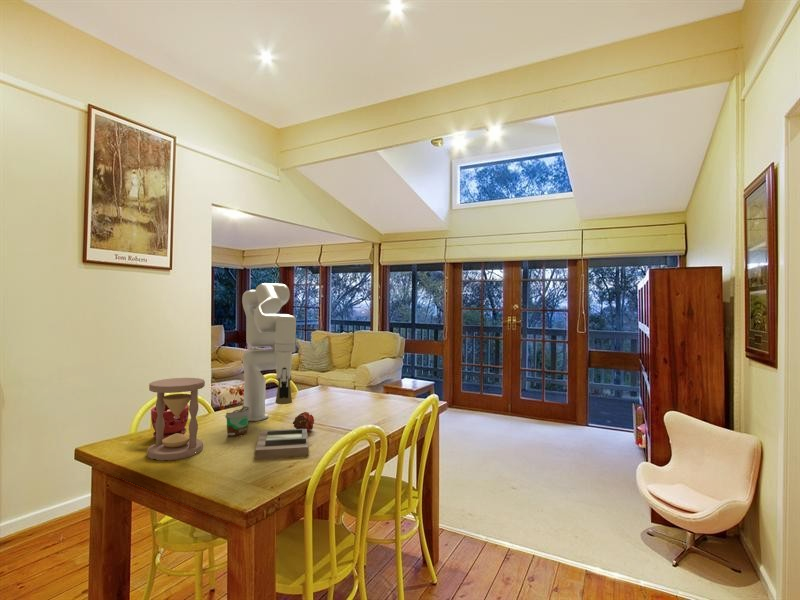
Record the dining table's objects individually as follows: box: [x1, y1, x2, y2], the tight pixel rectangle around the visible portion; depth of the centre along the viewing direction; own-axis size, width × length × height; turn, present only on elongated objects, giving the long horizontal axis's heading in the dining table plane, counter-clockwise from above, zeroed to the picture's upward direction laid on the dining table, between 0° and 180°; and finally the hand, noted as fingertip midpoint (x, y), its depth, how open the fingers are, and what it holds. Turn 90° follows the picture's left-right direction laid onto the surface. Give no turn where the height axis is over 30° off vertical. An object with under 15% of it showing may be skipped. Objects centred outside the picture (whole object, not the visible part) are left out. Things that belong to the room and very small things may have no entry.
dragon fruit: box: [292, 411, 315, 431], centre depth 176 cm, size 8×8×12 cm
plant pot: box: [150, 403, 190, 439], centre depth 165 cm, size 13×13×12 cm
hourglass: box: [146, 377, 206, 461], centre depth 148 cm, size 18×18×25 cm
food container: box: [225, 405, 251, 438], centre depth 169 cm, size 12×6×10 cm, turn 168°
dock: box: [254, 428, 310, 460], centre depth 155 cm, size 22×18×4 cm
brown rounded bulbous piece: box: [274, 374, 293, 405], centre depth 156 cm, size 6×6×11 cm
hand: (283, 396), depth 156 cm, fingers closed on brown rounded bulbous piece, 4 cm apart
